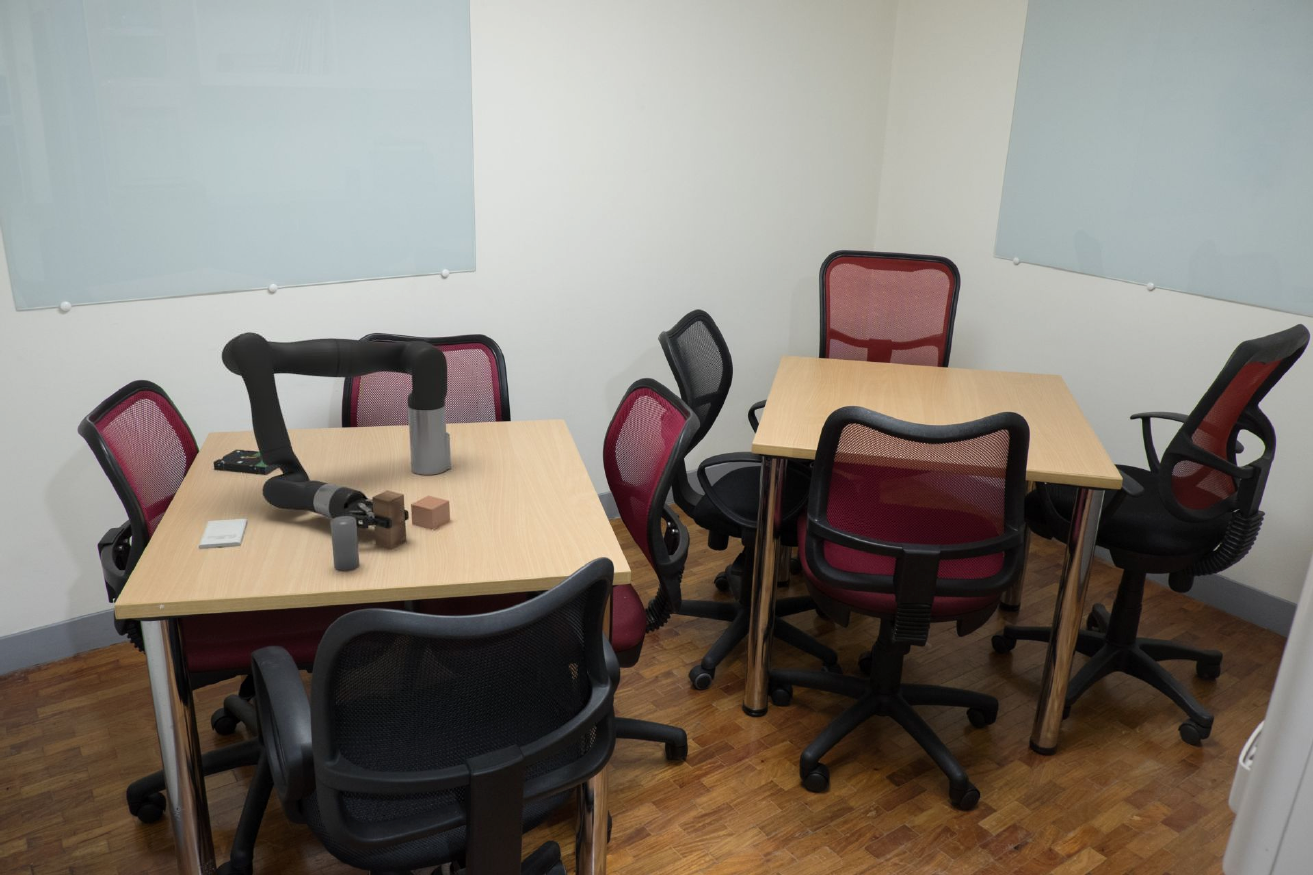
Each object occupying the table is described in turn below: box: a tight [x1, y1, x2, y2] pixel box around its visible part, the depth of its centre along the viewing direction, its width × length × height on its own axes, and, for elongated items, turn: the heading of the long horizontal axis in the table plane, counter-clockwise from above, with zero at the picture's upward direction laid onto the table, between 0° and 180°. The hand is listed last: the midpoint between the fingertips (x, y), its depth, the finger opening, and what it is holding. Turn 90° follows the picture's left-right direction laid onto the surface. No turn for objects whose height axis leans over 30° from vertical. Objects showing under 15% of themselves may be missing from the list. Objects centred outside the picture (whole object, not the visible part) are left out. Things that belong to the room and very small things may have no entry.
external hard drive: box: [198, 518, 248, 550], centre depth 218 cm, size 2×8×12 cm
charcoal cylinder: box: [329, 516, 360, 572], centre depth 205 cm, size 5×5×10 cm
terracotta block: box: [410, 495, 451, 530], centre depth 227 cm, size 6×6×5 cm
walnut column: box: [371, 489, 407, 550], centre depth 215 cm, size 5×5×11 cm
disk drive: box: [213, 449, 280, 476], centre depth 258 cm, size 10×3×15 cm
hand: (399, 519), depth 214 cm, fingers closed on walnut column, 4 cm apart
